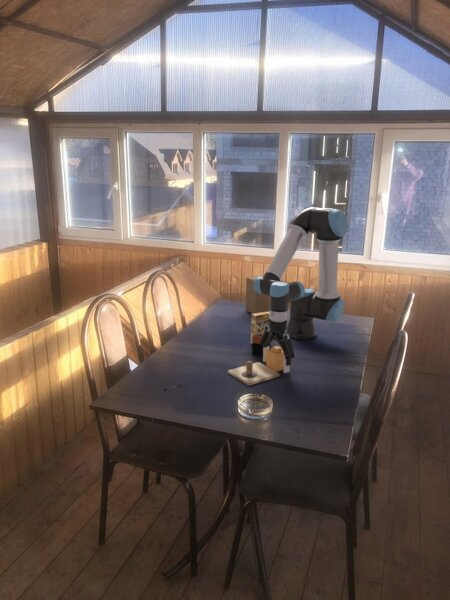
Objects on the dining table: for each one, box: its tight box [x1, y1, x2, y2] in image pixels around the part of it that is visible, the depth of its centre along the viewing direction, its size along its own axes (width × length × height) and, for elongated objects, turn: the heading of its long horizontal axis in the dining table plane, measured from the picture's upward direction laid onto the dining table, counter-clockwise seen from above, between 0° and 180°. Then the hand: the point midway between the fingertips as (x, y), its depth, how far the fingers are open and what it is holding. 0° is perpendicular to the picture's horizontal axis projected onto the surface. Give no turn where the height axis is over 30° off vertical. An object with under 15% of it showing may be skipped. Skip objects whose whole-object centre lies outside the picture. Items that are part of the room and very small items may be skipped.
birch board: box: [227, 360, 280, 387], centre depth 205 cm, size 16×14×7 cm
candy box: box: [250, 311, 271, 345], centre depth 237 cm, size 9×4×15 cm, turn 116°
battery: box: [251, 332, 263, 357], centre depth 226 cm, size 4×7×10 cm, turn 65°
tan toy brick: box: [265, 345, 286, 373], centre depth 211 cm, size 6×6×9 cm
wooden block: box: [245, 275, 270, 314], centre depth 284 cm, size 10×10×20 cm
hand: (275, 366), depth 212 cm, fingers open, 13 cm apart
